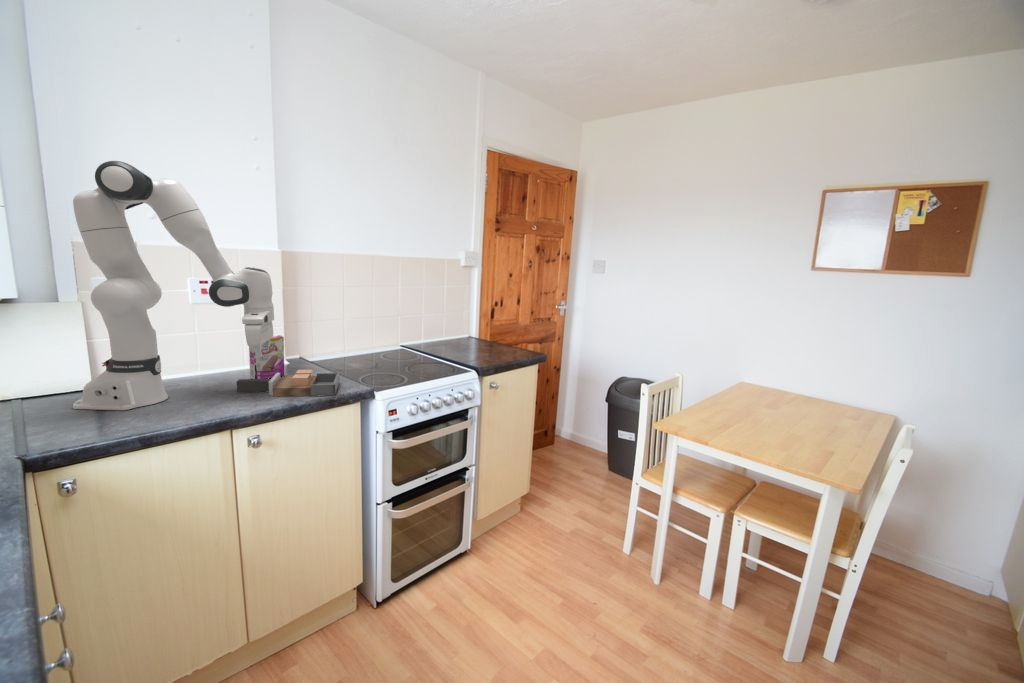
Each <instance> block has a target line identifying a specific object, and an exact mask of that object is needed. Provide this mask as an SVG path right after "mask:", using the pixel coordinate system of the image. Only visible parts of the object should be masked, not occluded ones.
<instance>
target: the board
mask: <svg viewBox="0 0 1024 683" xmlns="http://www.w3.org/2000/svg"><path fill="white" fill-rule="evenodd" d="M293 376H294V375H293ZM293 376H292V375H291V376H283V377H280V380H279V381H278V382H277V384H276V385H275V386H274V387H273V396H280V398H281V396H282V397H305V396H306V397H312V396H311V387H310V385H312V384H316V383H317V375H313V378H312V380H311V381H310V383H309V385H308V386H292V377H293ZM273 396H272V397H273Z"/></svg>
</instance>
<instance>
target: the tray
mask: <svg viewBox="0 0 1024 683" xmlns="http://www.w3.org/2000/svg"><path fill="white" fill-rule="evenodd" d="M316 376H317V383H316V384H312V385H310V387H311V396H310V397H319V396H318V395H335V394H336V395H337V392H336V391H338V389H337V388H339V386H340V382H341V380H340V372H317V373H316ZM338 385H339V386H338ZM336 395H335V396H336Z"/></svg>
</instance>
